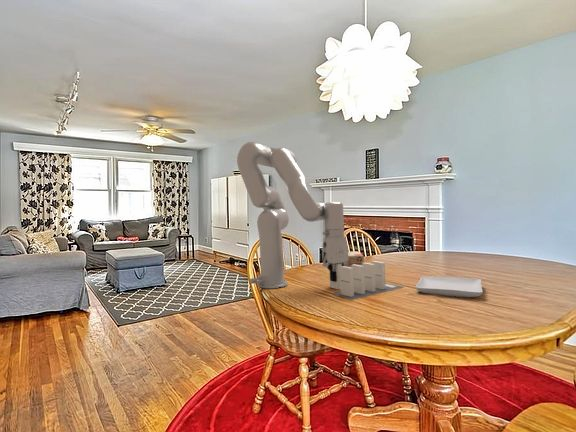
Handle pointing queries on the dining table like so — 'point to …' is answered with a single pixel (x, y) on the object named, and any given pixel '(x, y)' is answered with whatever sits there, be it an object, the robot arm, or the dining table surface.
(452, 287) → the salad plate
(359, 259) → the cardboard box
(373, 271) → the domino
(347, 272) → the domino
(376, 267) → the domino
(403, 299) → the dining table surface
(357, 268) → the domino
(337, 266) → the domino
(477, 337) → the dining table surface
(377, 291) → the domino mat
